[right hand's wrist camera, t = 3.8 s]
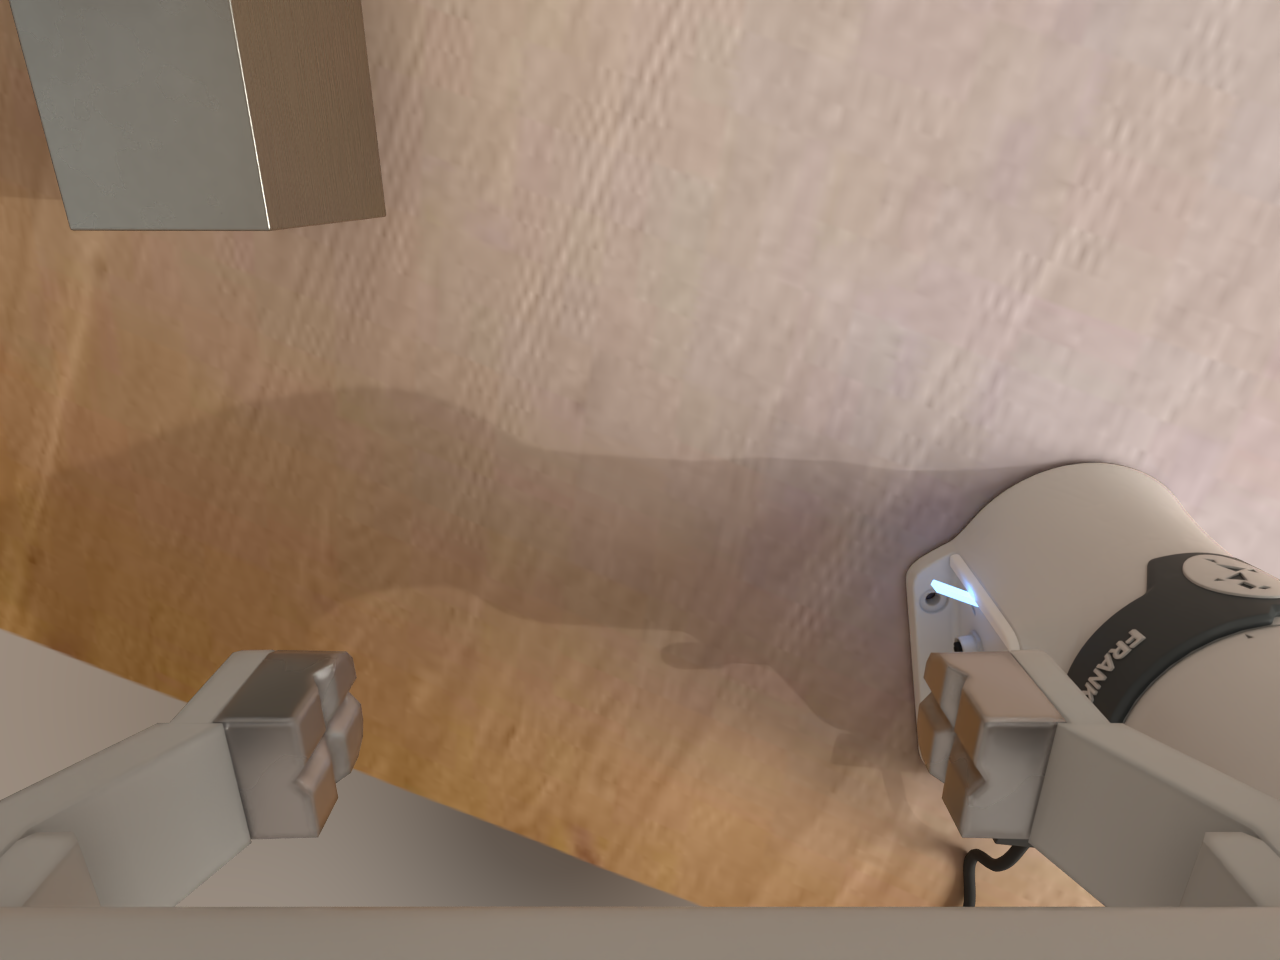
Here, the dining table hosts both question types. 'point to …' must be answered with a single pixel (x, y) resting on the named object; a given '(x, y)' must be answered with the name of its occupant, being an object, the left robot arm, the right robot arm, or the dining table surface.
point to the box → (205, 112)
